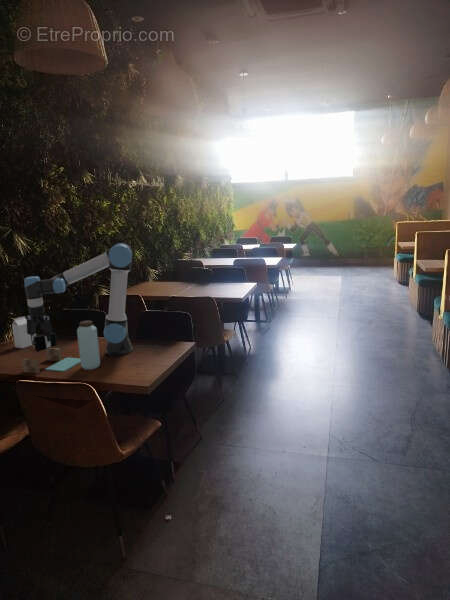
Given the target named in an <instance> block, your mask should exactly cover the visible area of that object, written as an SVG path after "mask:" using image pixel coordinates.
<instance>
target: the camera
mask: <svg viewBox="0 0 450 600" xmlns="http://www.w3.org/2000/svg"><path fill="white" fill-rule="evenodd" d="M50 337H51V341H50V343H51V346H50V347H48V348H54V347H55V346H57V344H58V343H57V334H56V332H54V331H53V334H51V335H50ZM33 345H34V346H35V347H34V349H35V352H41V351H45V349H47V348H46V342H45V333H41V334H39V335H36V336H35V337H34V340H33V341H32V346H33Z"/></svg>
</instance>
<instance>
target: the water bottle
mask: <svg viewBox="0 0 450 600" xmlns="http://www.w3.org/2000/svg"><path fill="white" fill-rule="evenodd" d="M76 333H77V342H78V343H77V344H78V351H79V352H78V354H79V358H80V366H81V368H82V369H83V370H87V371H88V370H90V371H91V370H93V369H94V370H95V369H97V368H98V367H100V365H101V357H100V348H99V347H100V346H99V339H98V328H97V327H96V326H95V325H94V323H93V320H83V321H80V322H79V326H78V328H77V329H76Z"/></svg>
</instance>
